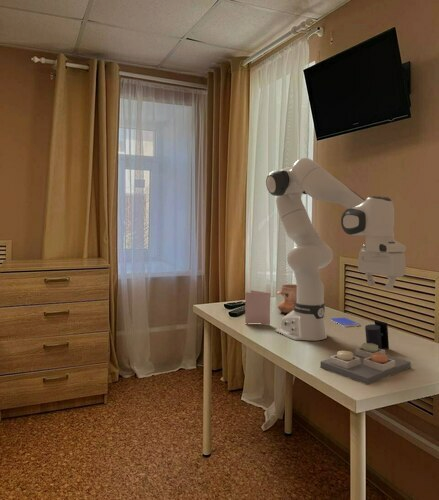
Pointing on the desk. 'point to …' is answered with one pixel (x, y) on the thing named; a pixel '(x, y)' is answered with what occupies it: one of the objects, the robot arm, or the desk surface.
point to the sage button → (370, 347)
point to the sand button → (345, 355)
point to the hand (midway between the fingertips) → (380, 287)
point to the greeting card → (257, 307)
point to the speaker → (377, 334)
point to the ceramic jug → (288, 297)
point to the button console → (365, 366)
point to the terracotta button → (379, 358)
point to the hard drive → (345, 322)
